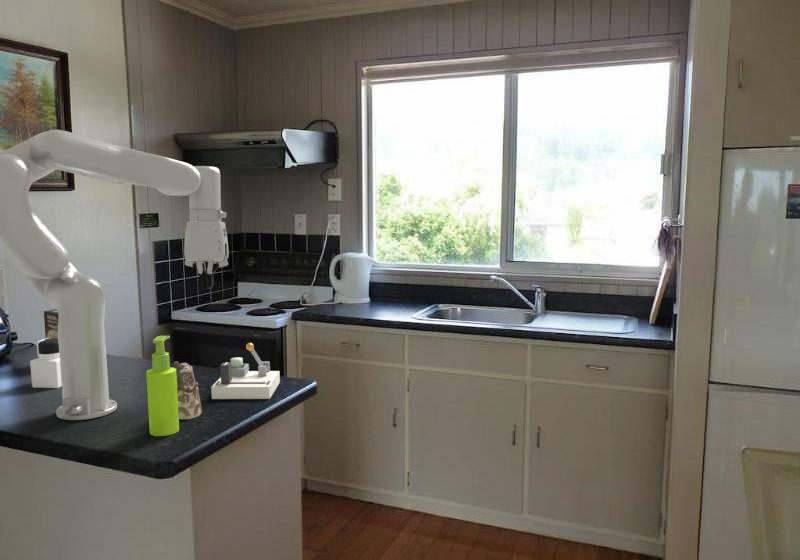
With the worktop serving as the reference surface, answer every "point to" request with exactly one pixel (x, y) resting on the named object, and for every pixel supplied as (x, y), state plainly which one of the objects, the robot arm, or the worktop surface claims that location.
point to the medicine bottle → (46, 365)
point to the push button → (237, 362)
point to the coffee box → (51, 323)
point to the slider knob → (226, 372)
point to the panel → (248, 384)
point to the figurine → (187, 392)
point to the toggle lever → (254, 354)
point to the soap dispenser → (162, 393)
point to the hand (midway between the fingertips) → (206, 289)
